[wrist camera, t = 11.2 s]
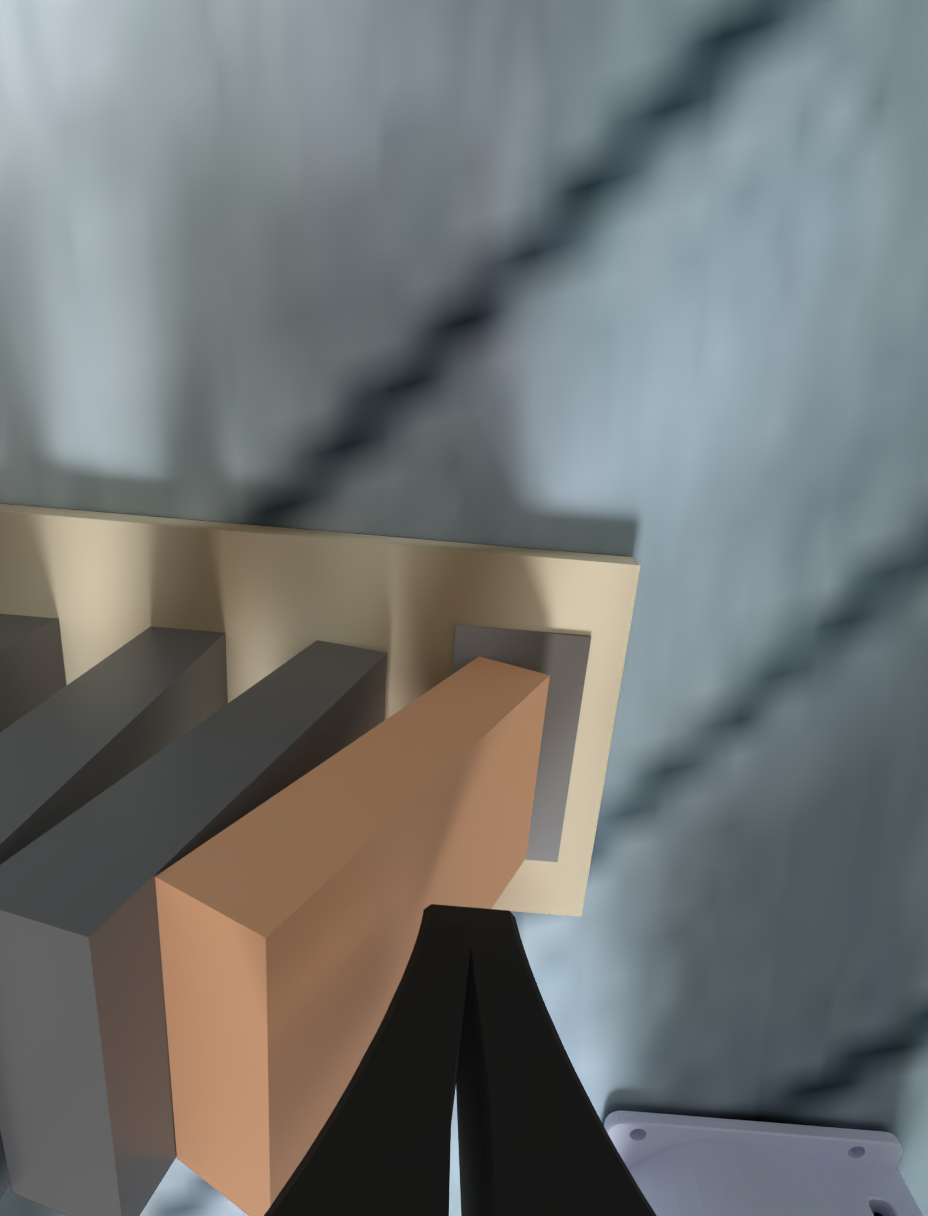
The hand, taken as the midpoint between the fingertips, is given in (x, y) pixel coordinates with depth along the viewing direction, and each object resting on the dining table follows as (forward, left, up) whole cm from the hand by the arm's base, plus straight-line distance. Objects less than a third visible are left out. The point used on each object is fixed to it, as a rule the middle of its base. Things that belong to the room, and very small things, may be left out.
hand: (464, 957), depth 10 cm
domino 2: (+3, 0, -6) cm, 7 cm away
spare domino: (-1, 0, -6) cm, 6 cm away
